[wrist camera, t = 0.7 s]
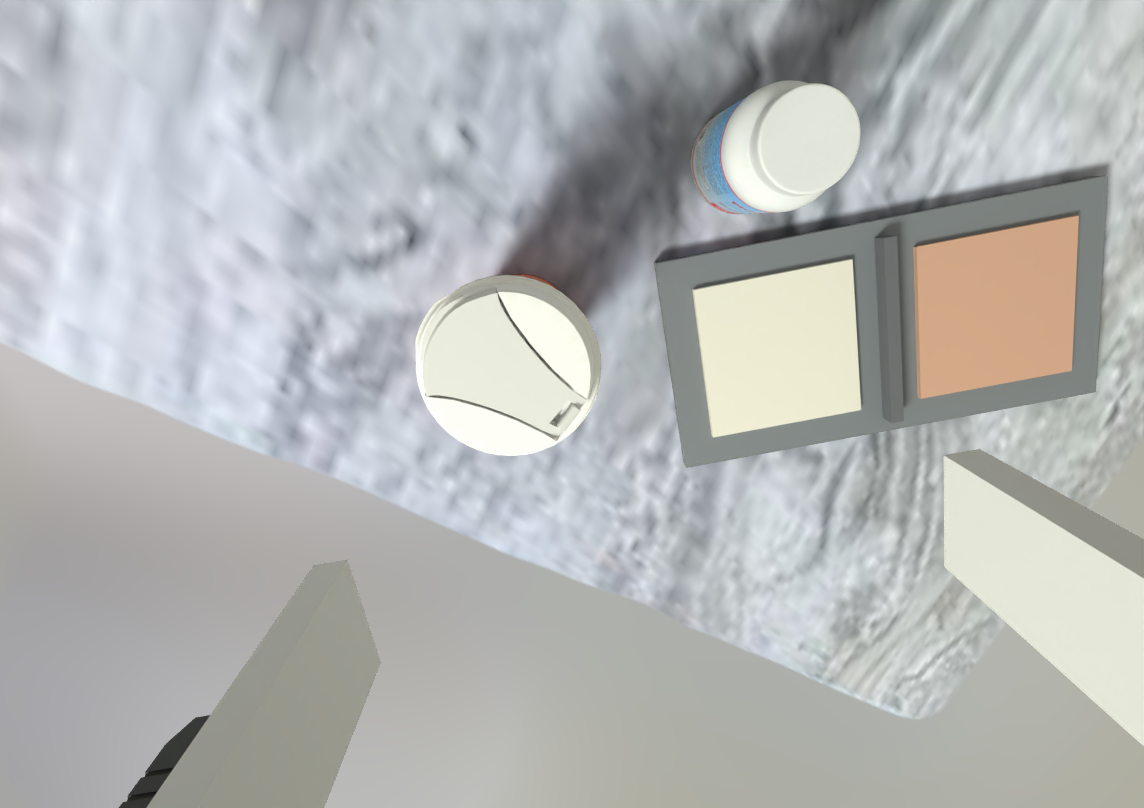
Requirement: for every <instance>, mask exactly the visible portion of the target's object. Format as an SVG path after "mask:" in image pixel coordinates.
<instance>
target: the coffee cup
mask: <svg viewBox="0 0 1144 808" xmlns="http://www.w3.org/2000/svg"><path fill="white" fill-rule="evenodd" d="M416 374H417V380H418V385H419V388H420V391H421V394H422V397H423V399H424V401H425V403H426V405H427V407H428V409H429V411H430V412H431V414H432V415H433V416H434V418H435V419H436V421H437V422H438V423H439V424H440V425H441V426H442V427H443V428H444V429H445V430H446V431H447V432H448V433H449V434H451V435H452V436H453V437H455V438H456V439H457V440H459V441H460V442H462V443H464V444H466V445H468V446H470V447H472V448H474V449H477V450H480V451H482V452H486V453H490V454H495V455H507V456H514V455H526V454H530V453H534V452H538V451H541V450H544V449H546V448H549V447H551V446H553V445H555V444H557V443H558V442H560V441H562V440H563V439H565V438H566V437H567V436H568V435H570V434H571V433H572V432H573V431H574V430H575V429H576V428H577V427H578V426H579V425H580V424H581V423H582V421H583V420H584V419H585V417H586V416H587V414H588V413H589V411H590V410H591V408H592V405H593V403H594V401H595V399H596V396H597V393H598V389H599V385H600V378H601V356H600V350H599V346H598V342H597V339H596V336H595V334H594V331H593V329H592V327H591V325H590V323H589V322H588V320H587V318H586V317H585V315H584V314H583V313H582V311H581V310H580V309H579V308H578V307H577V306H576V304H575V303H574V302H573V301H571V300H570V299H569V298H568V297H567V296H565V295H564V294H563V293H562V292H560V291H558V290H557V289H556V288H555V287H554V286H553V285H552V284H550V283H549V282H547V281H546V280H544V279H542V278H539V277H536V276H532V275H526V274H519V275H501V276H490V277H486V278H482V279H478V280H475V281H473V282H471V283H468V284H466V285H464V286H462V287H460V288H459V289H457V290H456V291H454V292H452V293H451V294H449V295H447V296H446V297H444V298H442V299H440V300H439V301H437V302H436V303H435V304H434V305H433V307H432V308H431V309H430V310H429V312H428V313H427V315H426V316H425V318H424V320H423V322H422V324H421V326H420V328H419V331H418V334H417V337H416Z"/></svg>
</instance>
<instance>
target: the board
mask: <svg viewBox="0 0 1144 808" xmlns="http://www.w3.org/2000/svg"><path fill="white" fill-rule="evenodd" d="M1107 186H1108V176H1097V177H1090V178H1085V179H1080V180H1075V181H1070V182H1065V183H1060V184H1055V185H1049V186H1044V187H1039V188H1034V189H1029V190H1024V191H1019V192H1014V193H1008V194H1003V195H998V196H993V197H988V198H983V199H978V200H973V201H967V202H962V203H957V204H952V205H947V206H942V207H937V208H932V209H926V210H921V211H916V212H911V213H906V214H901V215H896V216H891V217H885V218H880V219H875V220H870V221H865V222H860V223H855V224H850V225H844V226H839V227H834V228H829V229H824V230H819V231H814V232H809V233H803V234H798V235H793V236H788V237H783V238H778V239H773V240H768V241H762V242H757V243H752V244H747V245H742V246H737V247H732V248H726V249H721V250H716V251H711V252H706V253H701V254H696V255H691V256H685V257H680V258H675V259H670V260H665V261H660V262H655V263H654V265H655V272H656V279H657V286H658V292H659V299H660V306H661V313H662V319H663V326H664V333H665V340H666V346H667V353H668V360H669V367H670V373H671V380H672V387H673V394H674V400H675V407H676V414H677V421H678V428H679V434H680V441H681V448H682V455H683V461H684V464H685V466H686V468H688V467H694V466H699V465H705V464H710V463H715V462H721V461H726V460H732V459H737V458H742V457H748V456H753V455H759V454H764V453H769V452H775V451H780V450H786V449H791V448H796V447H802V446H807V445H813V444H818V443H823V442H829V441H834V440H840V439H845V438H850V437H856V436H861V435H867V434H872V433H877V432H883V431H888V430H894V429H899V428H904V427H910V426H915V425H921V424H926V423H931V422H937V421H942V420H948V419H953V418H958V417H964V416H969V415H975V414H980V413H985V412H991V411H996V410H1002V409H1007V408H1012V407H1018V406H1023V405H1029V404H1034V403H1040V402H1045V401H1050V400H1056V399H1061V398H1067V397H1072V396H1077V395H1083V394H1088V393H1094V392H1096V378H1097V361H1098V343H1099V326H1100V308H1101V291H1102V274H1103V256H1104V239H1105V221H1106V204H1107Z"/></svg>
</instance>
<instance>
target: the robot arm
mask: <svg viewBox="0 0 1144 808" xmlns="http://www.w3.org/2000/svg"><path fill="white" fill-rule="evenodd" d="M944 567H945V568H946V569H948V570H949V571H950V572H951V573H952V574H953V575H954V576H955V577H956V578H958V579H959V580H960V581H961V582H962V583H963V584H964V585H965V586H966V587H968V588H969V589H970V590H971V591H972V592H973V593H974V594H975V595H976V596H978V597H979V598H980V599H981V600H982V601H983V602H984V603H985V604H986V605H988V606H989V607H990V608H991V609H992V610H993V611H994V612H995V613H996V614H998V615H999V616H1000V617H1001V618H1002V619H1003V620H1004V621H1005V622H1006V623H1008V624H1009V625H1010V626H1011V627H1012V628H1013V629H1014V630H1015V631H1016V632H1018V633H1019V634H1020V635H1021V636H1022V637H1023V638H1024V639H1025V640H1026V641H1028V642H1029V643H1030V644H1031V645H1032V646H1033V647H1034V648H1035V649H1036V650H1037V651H1039V652H1040V653H1041V654H1042V655H1043V656H1044V657H1045V658H1047V660H1049V661H1050V662H1051V663H1052V664H1053V665H1054V666H1056V668H1057V669H1059V670H1060V671H1061V672H1062V673H1063V674H1064V675H1065V676H1066V677H1067V678H1069V679H1070V680H1071V681H1072V682H1073V683H1074V684H1076V686H1077V687H1079V688H1080V689H1081V690H1082V691H1083V692H1084V693H1085V694H1086V695H1087V696H1089V697H1090V698H1091V699H1092V700H1093V701H1094V702H1095V703H1097V705H1099V706H1100V707H1101V708H1102V709H1103V710H1104V711H1105V712H1106V713H1107V714H1109V715H1110V716H1111V717H1112V718H1113V719H1114V720H1115V721H1116V722H1117V723H1118V724H1120V725H1121V726H1122V727H1123V728H1124V729H1125V730H1126V731H1127V732H1129V733H1130V734H1131V735H1132V736H1133V737H1134V738H1135V739H1136V740H1137V741H1138V742H1140V743H1141V744H1142V745H1143V746H1144V539H1142V538H1140V537H1138V536H1137V535H1135V534H1133V533H1131V532H1129V531H1128V530H1126V529H1124V528H1122V527H1120V526H1119V525H1117V524H1115V523H1113V522H1111V521H1109V520H1108V519H1106V518H1104V517H1102V516H1100V515H1099V514H1097V513H1095V512H1093V511H1091V510H1089V509H1088V508H1086V507H1084V506H1082V505H1080V504H1079V503H1077V502H1075V501H1073V500H1071V499H1069V498H1068V497H1066V496H1064V495H1062V494H1060V493H1059V492H1057V491H1055V490H1053V489H1051V488H1049V487H1048V486H1046V485H1044V484H1042V483H1040V482H1038V481H1037V480H1035V479H1033V478H1031V477H1029V476H1028V475H1026V474H1024V473H1022V472H1020V471H1018V470H1017V469H1015V468H1013V467H1011V466H1009V465H1008V464H1006V463H1004V462H1002V461H1000V460H998V459H997V458H995V457H993V456H991V455H989V454H988V453H986V452H984V451H982V450H980V449H978V450H972V451H966V452H960V453H955V454H949V455H944ZM380 663H381V662H380V659H379V656H378V653H377V649H376V647H375V643H374V640H373V637H372V634H371V631H370V628H369V625H368V621H367V618H366V615H365V612H364V609H363V606H362V603H361V600H360V597H359V594H358V590H357V587H356V584H355V581H354V578H353V575H352V572H351V569H350V566H349V563H348V560H342V561H336V562H331V563H325V564H320V565H314V566H313V567H312V569H311V570H310V571H309V573H308V574H307V576H306V577H305V579H304V580H303V582H302V583H301V585H300V586H299V588H298V589H297V590H296V592H295V593H294V595H293V596H292V598H291V599H290V600H289V602H288V603H287V605H286V606H285V608H284V609H283V611H282V612H281V613H280V615H279V617H278V618H277V619H276V621H275V622H274V624H273V625H272V627H271V628H270V629H269V631H268V632H267V634H266V635H265V637H264V638H263V640H262V641H261V642H260V644H259V645H258V647H257V648H256V650H255V651H254V653H253V654H252V656H251V657H250V658H249V660H248V662H247V663H246V664H245V666H244V667H243V669H242V670H241V671H240V673H239V674H238V676H237V677H236V679H235V680H234V682H233V683H232V685H231V686H230V688H229V689H228V690H227V692H226V693H225V695H224V696H223V698H222V699H221V700H220V702H219V703H218V705H217V706H216V708H215V709H214V711H213V712H212V714H211V715H209V716H203V717H198V718H195V719H194V720H192V721H191V722H190V723H189V724H188V725H187V726H186V727H184V728H183V729H182V730H181V731H180V732H179V733H178V734H177V735H175V736H174V737H173V738H172V739H171V740H170V741H169V742H168V743H167V744H166V745H165V746H164V748H163V749H162V750H161V751H160V753H159V754H158V756H157V757H156V758H155V760H154V761H153V762H152V764H151V765H150V767H149V768H148V769H147V771H146V772H145V773H146V775H145V777H143V778H141V779H140V780H139V781H138V783H137V784H136V785H135V787H134V788H133V790H132V791H131V792H130V794H129V795H128V800H127V802H123V803H122V804H121V806H120V807H119V808H324V806H325V804H326V802H327V799H328V796H329V794H330V791H331V789H332V786H333V784H334V781H335V779H336V776H337V773H338V771H339V768H340V766H341V763H342V761H343V758H344V755H345V753H346V750H347V748H348V745H349V742H350V740H351V737H352V735H353V732H354V730H355V727H356V724H357V722H358V720H359V717H360V714H361V711H362V709H363V707H364V704H365V702H366V699H367V696H368V694H369V691H370V689H371V686H372V683H373V681H374V678H375V676H376V673H377V671H378V668H379V666H380Z"/></svg>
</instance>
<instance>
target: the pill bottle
mask: <svg viewBox="0 0 1144 808" xmlns="http://www.w3.org/2000/svg"><path fill="white" fill-rule="evenodd" d="M860 134H861V130H860V122H859V117H858V114H857V111H856V109H855V107H854V105H853V104H852V102H851V101H850V100H849V98H848V97H847V96H846V95H845V94H843V93H842V92H841V91H839V90H838V89H836V88H834V87H832V86H829V85H825V84H819V83H810V84H809V83H805V82H801V81H792V80H789V81H780V82H775V83H772V84H769V85H766V86H764V87H762V88H760V89H758V90H756V91H755V92H753V93H751V94H750V95H748V96H746V97H745V98H743V99H741V100H740V101H738V102H737V103H735V104H733V105H732V106H730V107H729V108H727V109H725V110H724V111H722V112H721V113H719V114H717V115H716V116H715V117H714V118H712V119H711V120H710V121H709V122H708V123H707V124H706V125H705V126H704V127H703V129H702V130H701V132H700V133H699V135H698V136H697V138H696V141H695V143H694V146H693V149H692V154H691V171H692V176H693V180H694V182H695V185H696V187H697V189H698V191H699V192H700V194H701V196H702V197H703V198H704V199H705V200H706V202H707V203H709V204H710V205H711V206H712V207H714V208H716V209H718V210H720V211H723V212H726V213H731V214H751V213H774V212H785V211H791V210H795V209H797V208H800V207H803V206H805V205H807V204H808V203H810V202H812V201H813V200H815V199H816V198H817V197H819V196H820V195H821V194H822V193H823V192H824V191H825V190H826V189H827V188H829V187H830V186H832V185H834V184H835V183H836V182H837V181H839V180H840V179H841V178H842V177H843V176H844V175H845V173H846V172H847V171H848V170H849V168H850V167H851V165H852V163H853V161H854V159H855V157H856V155H857V152H858V148H859V144H860Z"/></svg>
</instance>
